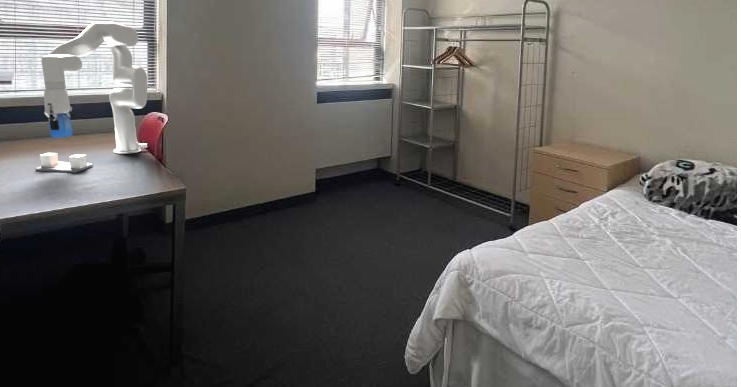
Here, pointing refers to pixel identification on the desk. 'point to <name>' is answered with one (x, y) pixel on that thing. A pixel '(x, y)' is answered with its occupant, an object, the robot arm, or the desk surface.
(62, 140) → the desk surface
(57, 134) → the perfume bottle
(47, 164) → the module rail
